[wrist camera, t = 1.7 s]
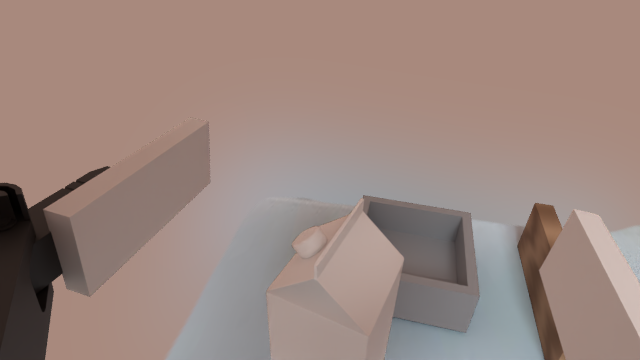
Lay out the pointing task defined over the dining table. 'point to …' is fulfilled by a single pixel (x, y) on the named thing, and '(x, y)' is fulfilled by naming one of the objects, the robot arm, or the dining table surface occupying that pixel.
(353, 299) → the milk carton
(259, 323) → the dining table surface
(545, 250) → the walnut wall
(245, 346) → the dining table surface
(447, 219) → the tray
